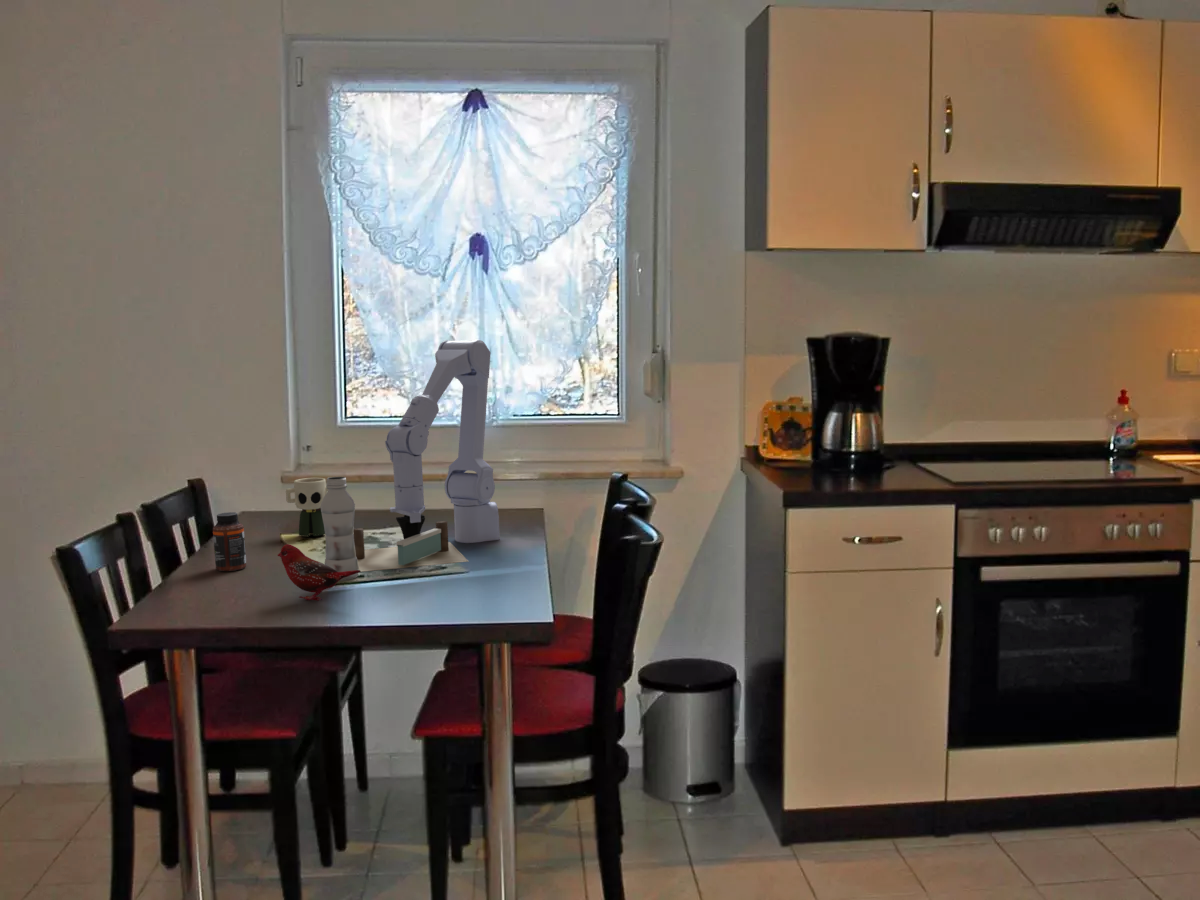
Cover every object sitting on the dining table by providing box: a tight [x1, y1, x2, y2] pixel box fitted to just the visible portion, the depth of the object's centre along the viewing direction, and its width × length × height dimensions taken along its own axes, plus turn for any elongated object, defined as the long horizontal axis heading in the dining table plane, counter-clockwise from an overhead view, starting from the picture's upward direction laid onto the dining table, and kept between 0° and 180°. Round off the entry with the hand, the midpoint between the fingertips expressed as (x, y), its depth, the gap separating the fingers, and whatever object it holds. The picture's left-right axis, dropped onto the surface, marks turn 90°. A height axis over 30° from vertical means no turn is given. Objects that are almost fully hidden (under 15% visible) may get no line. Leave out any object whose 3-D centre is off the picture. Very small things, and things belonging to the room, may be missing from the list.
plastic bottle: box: [321, 476, 359, 582], centre depth 216 cm, size 6×7×20 cm
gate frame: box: [353, 520, 469, 573], centre depth 233 cm, size 22×20×7 cm
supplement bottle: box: [212, 511, 247, 572], centre depth 230 cm, size 6×6×11 cm
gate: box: [396, 527, 441, 565], centre depth 230 cm, size 14×2×4 cm, turn 157°
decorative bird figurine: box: [277, 543, 362, 602], centre depth 203 cm, size 3×18×10 cm, turn 67°
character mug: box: [285, 477, 328, 537], centre depth 261 cm, size 11×7×13 cm, turn 97°
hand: (412, 551), depth 232 cm, fingers closed, pressing on gate
